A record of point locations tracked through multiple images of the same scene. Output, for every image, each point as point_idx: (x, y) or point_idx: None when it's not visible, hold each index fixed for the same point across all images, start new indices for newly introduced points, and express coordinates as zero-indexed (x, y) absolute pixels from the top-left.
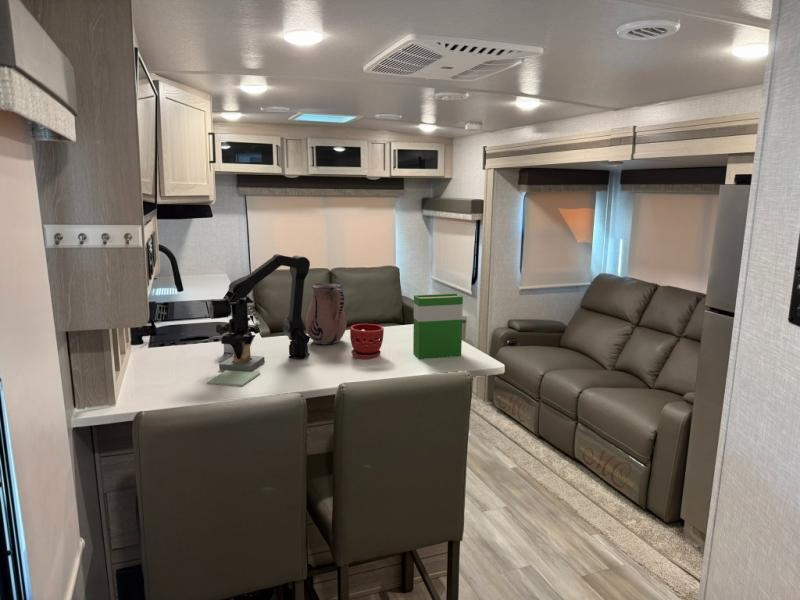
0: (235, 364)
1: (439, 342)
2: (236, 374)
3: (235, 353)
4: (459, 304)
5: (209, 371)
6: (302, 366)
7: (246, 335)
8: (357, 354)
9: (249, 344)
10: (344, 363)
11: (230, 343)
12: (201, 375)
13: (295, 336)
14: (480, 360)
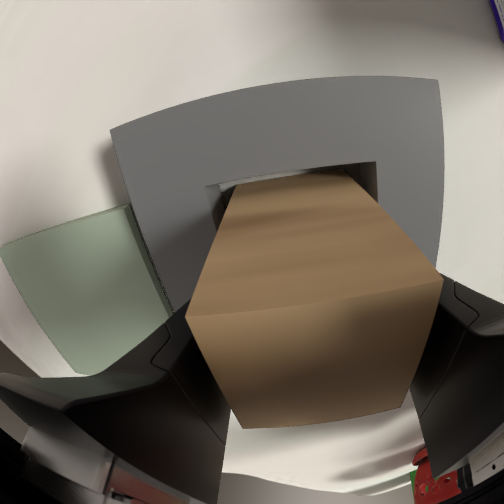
0: (172, 267)
1: None
2: (114, 311)
3: (189, 302)
4: None
5: (84, 91)
6: (356, 425)
7: (488, 458)
8: (421, 458)
9: (386, 408)
10: (390, 451)
11: (13, 448)
12: (26, 121)
13: (457, 474)
14: (399, 486)
